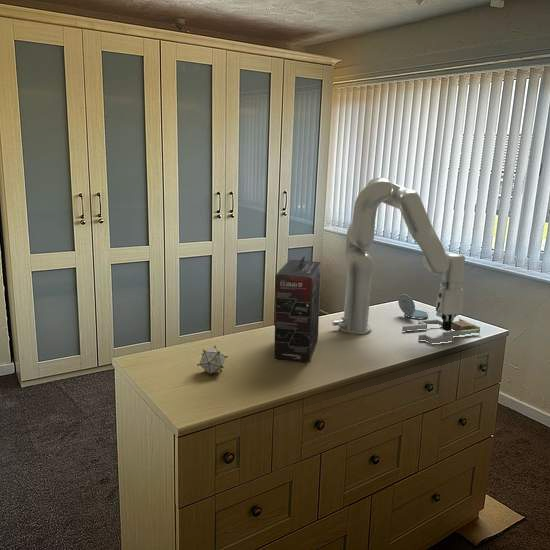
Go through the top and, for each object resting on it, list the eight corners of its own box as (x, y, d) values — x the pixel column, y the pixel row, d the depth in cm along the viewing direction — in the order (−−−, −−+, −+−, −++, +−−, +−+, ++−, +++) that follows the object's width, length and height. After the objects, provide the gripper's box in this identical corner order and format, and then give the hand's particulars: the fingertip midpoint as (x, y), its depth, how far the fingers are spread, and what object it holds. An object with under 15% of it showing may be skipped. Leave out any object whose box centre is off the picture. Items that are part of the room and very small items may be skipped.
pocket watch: (396, 291, 222) (421, 288, 230) (394, 315, 225) (419, 311, 233) (413, 297, 214) (438, 293, 222) (411, 322, 217) (436, 317, 224)
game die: (211, 381, 161) (216, 350, 165) (229, 379, 156) (234, 347, 160) (189, 373, 156) (195, 342, 160) (207, 372, 150) (213, 339, 154)
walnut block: (459, 336, 201) (460, 326, 201) (450, 331, 207) (451, 321, 206) (472, 335, 203) (474, 325, 202) (463, 330, 209) (464, 320, 208)
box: (426, 345, 189) (427, 336, 188) (396, 328, 207) (396, 320, 206) (486, 339, 198) (488, 330, 198) (453, 323, 216) (454, 315, 216)
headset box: (309, 364, 168) (314, 265, 160) (271, 360, 170) (275, 262, 163) (318, 339, 191) (323, 252, 184) (285, 336, 194) (288, 250, 186)
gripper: (441, 288, 193) (436, 334, 197) (473, 286, 198) (468, 331, 203) (429, 283, 200) (424, 328, 204) (460, 281, 205) (455, 325, 209)
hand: (446, 329), depth 203 cm, fingers closed
